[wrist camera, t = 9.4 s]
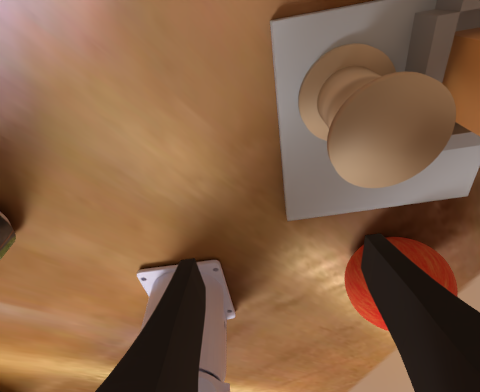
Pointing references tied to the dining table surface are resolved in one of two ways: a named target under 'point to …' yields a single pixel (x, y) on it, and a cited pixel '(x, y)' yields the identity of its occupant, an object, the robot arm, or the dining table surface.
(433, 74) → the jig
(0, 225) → the beverage can
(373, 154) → the knob
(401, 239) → the apple
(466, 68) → the block
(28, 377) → the dining table surface
